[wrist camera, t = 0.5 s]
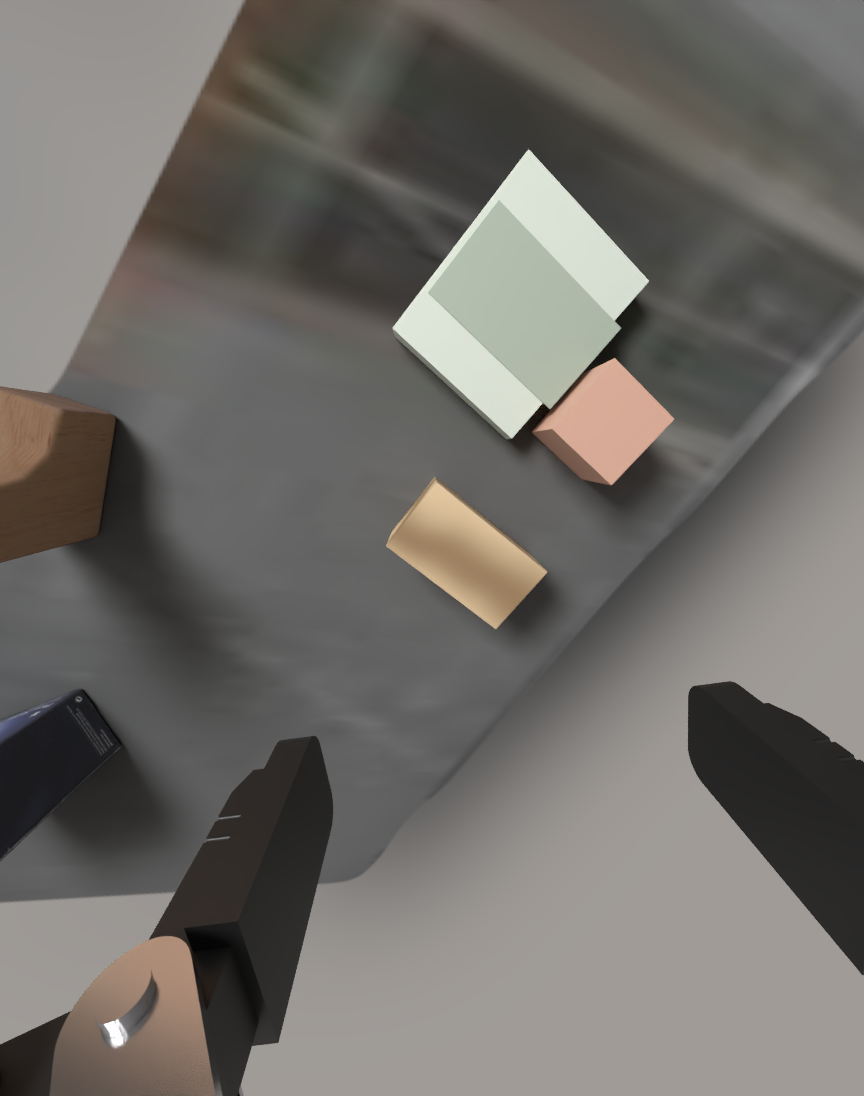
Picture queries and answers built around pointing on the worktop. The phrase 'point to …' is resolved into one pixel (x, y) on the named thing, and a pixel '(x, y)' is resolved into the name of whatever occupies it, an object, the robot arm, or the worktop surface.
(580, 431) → the cube
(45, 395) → the wooden block
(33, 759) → the small box
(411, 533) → the tan rectangular block
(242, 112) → the worktop surface
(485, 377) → the pad
